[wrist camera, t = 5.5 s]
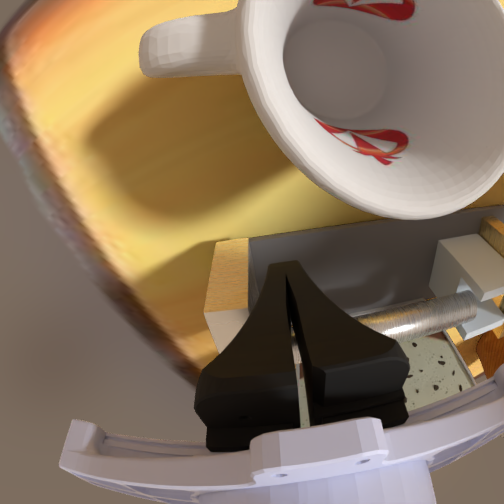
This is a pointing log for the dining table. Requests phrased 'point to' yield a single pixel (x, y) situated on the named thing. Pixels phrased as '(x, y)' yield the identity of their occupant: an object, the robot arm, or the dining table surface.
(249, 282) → the shaft
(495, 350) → the disposable coffee cup
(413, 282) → the mat
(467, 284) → the bearing block
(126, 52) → the dining table surface
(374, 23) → the cup
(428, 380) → the food container
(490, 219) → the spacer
